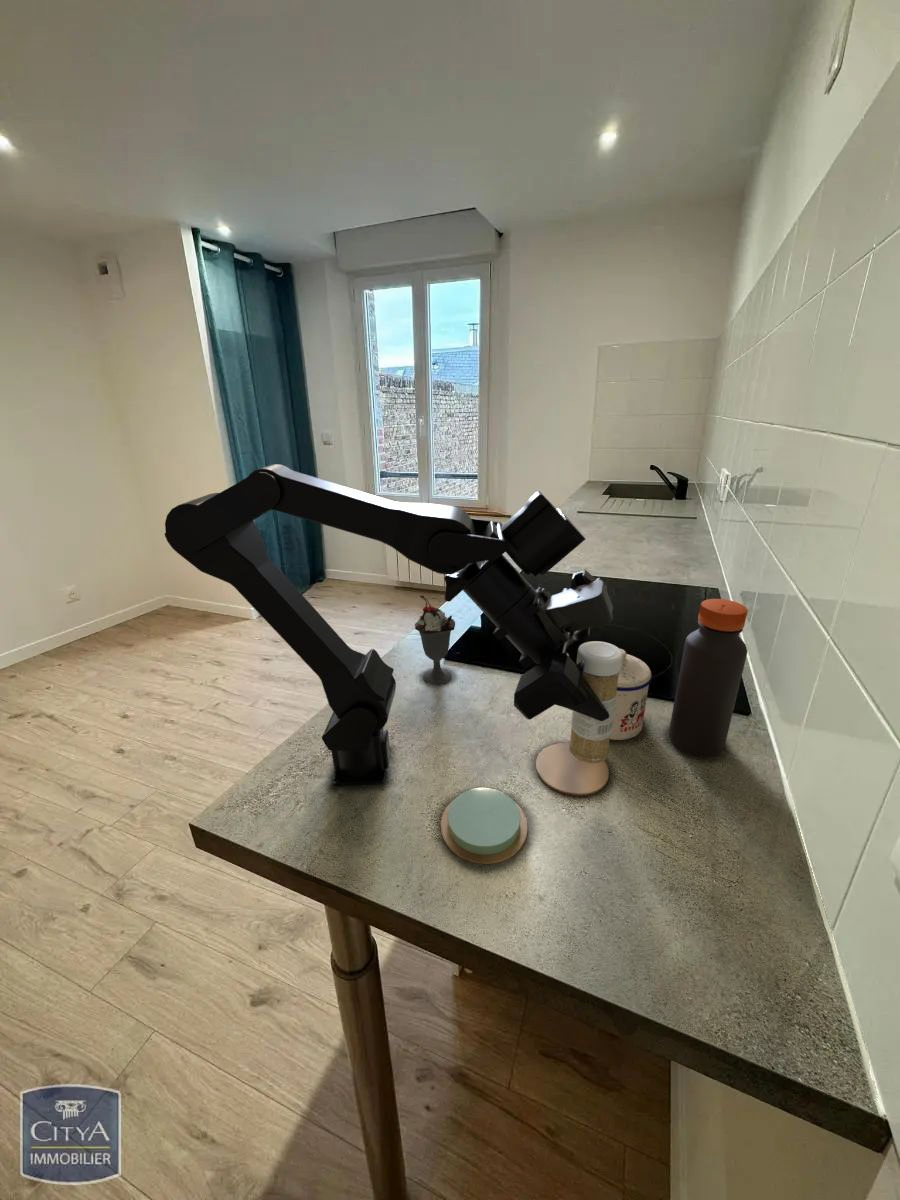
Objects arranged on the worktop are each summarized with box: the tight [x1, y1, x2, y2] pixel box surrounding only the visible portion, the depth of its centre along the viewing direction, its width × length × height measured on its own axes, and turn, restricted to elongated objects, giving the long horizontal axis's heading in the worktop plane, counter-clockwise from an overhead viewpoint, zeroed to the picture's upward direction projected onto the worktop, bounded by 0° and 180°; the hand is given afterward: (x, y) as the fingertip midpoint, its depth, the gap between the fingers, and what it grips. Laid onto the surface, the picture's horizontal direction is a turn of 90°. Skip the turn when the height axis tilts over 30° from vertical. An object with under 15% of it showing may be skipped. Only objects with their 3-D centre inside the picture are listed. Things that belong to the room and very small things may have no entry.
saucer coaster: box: [440, 800, 528, 865], centre depth 52 cm, size 10×10×1 cm
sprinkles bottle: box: [568, 640, 623, 763], centre depth 52 cm, size 5×5×14 cm
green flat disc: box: [448, 787, 520, 855], centre depth 52 cm, size 8×8×1 cm
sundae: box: [414, 595, 456, 685], centre depth 78 cm, size 7×7×15 cm
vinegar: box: [668, 598, 749, 757], centre depth 60 cm, size 7×7×20 cm
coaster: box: [535, 742, 610, 796], centre depth 60 cm, size 9×9×1 cm
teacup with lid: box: [609, 648, 653, 741], centre depth 67 cm, size 12×9×12 cm
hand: (606, 706), depth 52 cm, fingers closed on sprinkles bottle, 4 cm apart
